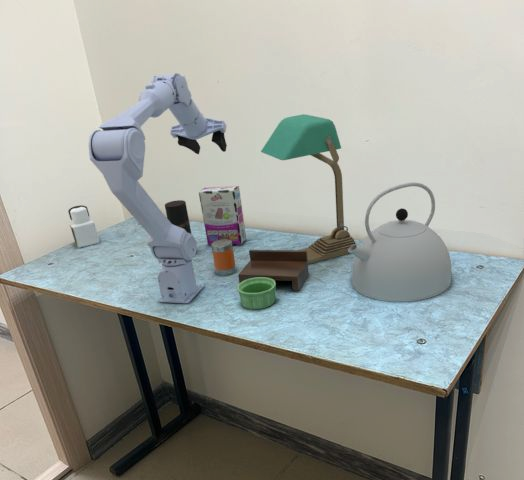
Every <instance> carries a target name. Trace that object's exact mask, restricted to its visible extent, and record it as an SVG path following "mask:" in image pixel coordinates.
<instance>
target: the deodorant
mask: <svg viewBox="0 0 524 480" xmlns="http://www.w3.org/2000/svg"><path fill="white" fill-rule="evenodd" d="M187 207H188V206H187V203H186V201H185V200H182V199H177V200H172V201H168V202H165V204H164V209H165V214H166V218H167V219H168V220H169V221H170V223H171V224H173V225H175V226H178V227H180V228H183V229H185V230H186V232H187V233H190V234H192V230H191V229H192V228H191V224H190V218H189V212H188V208H187Z"/></svg>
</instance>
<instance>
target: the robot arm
mask: <svg viewBox="0 0 524 480" xmlns="http://www.w3.org/2000/svg"><path fill="white" fill-rule="evenodd" d="M144 87H145V89H144V90H143V91H142V92H140V94H139V96H138V102H137V103H135V104H133V105H132V106H131V107H129V108H127V109H125V110H124V111H123V112H121V113H120V114H118V115H116V116H115V117H113V118H110V119H108V120H107V121H105V122H103V123H101V124H100V125H99V127H98V129H96V130H95V129H94V130H93V131H92V132H91V134H90V135H89V138H88V152H89V153H88V155H89V160H90V162H92V164H93V165H94V166H95V168H96V169H97V170H98V171H99V172H100V173H101V174H102V176H103V178H104V181H105V182H106V184H107V186H108V188H109V190H110V191H111V193H112V194H113V195H114V197H115V198H116V199H117V200H118V202H120V203H121V205H122V206H123V207H124V209H126V210H127V211H128V212H129V214H130V215H131V216H132V217H133V218H134V219H135V220H136V222H137V223H138V224H139V225H140V226H141V227H142V228H143V230H144V231H145V232H146V233H147V234H148V236H147V240H146V241H147V242H146V244H147V246H148V247H149V249H150V251H151V254H152V256H153V257H154V259H156V260H158V263H159V264H161V270H160V272H159V273H158V276H157V282H158V286H159V290H160V295H161V298H159V303H171V304H172V303H173V304H189V303H191V301H192V300H193V299H194V298H195V297H196V296H197V295H198V294H199V293H200V292H201V290H202V289H203V288H204V285H203V284H197V280H196V275H195V270H194V265H193V259H194V257H195V256H196V254H197V249H198V247H197V244H198V243H197V240H196V238H195V236H194V235H193V234H192V233H191V234H190V233H187V232H186V230H185V229H183V228H180V227H178V226H175V225H173V224H171V223H170V221H169V220H168V219H167V215H165V214H164V212H163V211H162V210H161V208H160V207H159V206H158V205H157V204H156V202H155V201H154V200H153V198H152V197H151V195H149V194H148V192H147V190H145V188H144V187H143V185H142V184H141V183H140V182H139V180H140V179H142V178H143V176H144V175H143V174H144V167H145V155H146V137H145V134H144V131H143V129H142V127H143V125H144V124H145V123H146V122H147V121H148V120H149V119H150V118H153V119H155V118H159V117H160V116H161V115H163V113H165V112H166V111H167V110H169V111H170V112H171V115H173V117H174V118H175V119H176V121H177V123H178V124H177V125H173V126H171V127H170V132H169V134H170V135H171V136H172V138H173V139H176V138H177V145H178V146H181V147H184V148H187V150H190V151H192V152H193V153H195V154H196V155H200V152H201V145H200V143H199V142H198V140H199V139H202V138H204V137H206V136H209V135H211V134H212V136H211V142H212V143H214V144H216V145H217V146H218V148H219V150H221V151H222V152H223V153H224V152H225V153H226V151H227V146H228V145H227V141H226V136H225V133H226V131H227V124H226V122H225V120H217V119H214V118H213V119H212V118H208V117H205V116H204V114H203V113H202V112H201V110H200V109H199V107H198V106H197V104H196V102H195V101H194V100H193V98H192V93H191V91H190V89H189V85H188V80H187V78H186V77H185V75H181V74H180V73H177V72H176V73H175V72H174V73H166V74H165V73H164V74H158V75H153V76H152V78H151V82H150V83H147V84H146V85H145V86H144Z"/></svg>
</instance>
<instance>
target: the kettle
mask: <svg viewBox="0 0 524 480" xmlns="http://www.w3.org/2000/svg"><path fill="white" fill-rule="evenodd" d="M410 187H417V188H421V189H423V190H424V191H426V192H427V194H428V195H429V198H430V204H431V209H430V214H429V216H428V218H427V220H426V221H425V223H423V222H419V221H416V220H412V219H407V218H408V216H409V213H408V210H407V209H405V208H399V209H397V210H396V212H395V217H396V218H395V219H396V220H389V221H387V222H385V223H383V224H381V225H380V226H378V227H377V228H375V229H373V230H372V231H371V228H370V214H371V211H372V208H373V207H374V206H375V204H376V203H377V202H378V201H379V200H380V199H381V198H382V197H384V196H385V195H388V194H389V193H392V192H394V191H396V190H401V189H404V188H410ZM435 212H436V200H435V195H434V192H432V189H430V187H428V186H427V185H425V184H424V183H421V182H415V181H414V182H406V183H402V184H398V185H395V186H392V187H389V188H387V189H385V190H383V191H382V192H380V193H379V194H377V195H376V196H375V197H374V198H373V199H372V201H370V203H369V205H368V207H367V209H366V212H365V217H364V227H365V231H366V233H367V236H365V238H364V239H363V240H362V241H361V243H360V244H358V243H356V244H355V245H352V246H351V247H350V248H349V249H348V252H350V253H349V254H351V255H352V256H354V258H353V262H352V271H351V273H352V279H351V283H352V287H353V289H354V290H355V291H357V293H359V294H361V295H363V296H365V297H368V298H371V299H373V300H378V301H383V302H384V301H385V302H392V303H393V302H394V303H397V302H398V303H399V302H400V303H402V302H403V303H405V302H406V303H407V302H416V301H422V300H427V299H429V298H434V297H436V296H438V295H440V294H442V293H444V292H445V291H446V290H448V288H449V287H450V286H451V284H452V259H451V255H450V252H449V249H448V247H447V245H446V243H445V241H444V240H443V239H442V237H440V235H439V234H438V233H437V232H436V231H435V230H434V229H432V228H431V227H429V226H430V223H431V222H432V220H433V218H434V215H435Z"/></svg>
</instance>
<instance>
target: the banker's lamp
mask: <svg viewBox="0 0 524 480" xmlns="http://www.w3.org/2000/svg"><path fill="white" fill-rule="evenodd" d="M334 123H335V122H334V121H332V120H331V119H329V118H325V117H320V116H315V115H311V114H306V113H305V114H297V115H293V116H288V117H284V118H283V119H282V120H280V122H279V123H278V124H277V126H276V127H275V128H274V131H273V132H272V133H271V135H270V136H269V138H268V140H267V141H266V142H265V144H264V146H263V147H262V149H261V151H260V153H262V154H265V155H267V156H270V157H271V158H272V157H273V158H275V159H277V160H279V161H287V160H292V159H297V158H303V157H306V156H311V157H313V158H315V159H317V160H319V161H321V162H323V163H325V164H326V165H328V166H329V167H330V168H331V170H332V172H333V175H334V189H335V190H334V194H335V214H336V218H335V219H336V227H335V228H334V229H332V231H331V233H330V234H329V235H326V236H321V237H319V238H316V239H315V241H314V242H313V243H311V244H310V245H308V246H307V247H304V248H300V249H299V250H307V259H308V265H311V264H315V263H318V262H322V261H326V260H330V259H334V258H338V257H342V256H345V255H348V254H351V253H350V252H348V249H349V248H350V247H351V246H352V245H355V244H357V243H356V241H355V239H354V238H353V236H351V233H350V232H349V228H348V226H346V225H345V217H344V215H345V214H344V189H343V174H342V169H341V167H340V165H339V161H340V155H339V153H338V151H337V150H340V149H342V146H341V142H340V139H339V135H338V131H337V128H336V125H335V124H334ZM326 152H329V154H330V156H331V158H329V157H327V156H326V155H324V154H322V153H326Z"/></svg>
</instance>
